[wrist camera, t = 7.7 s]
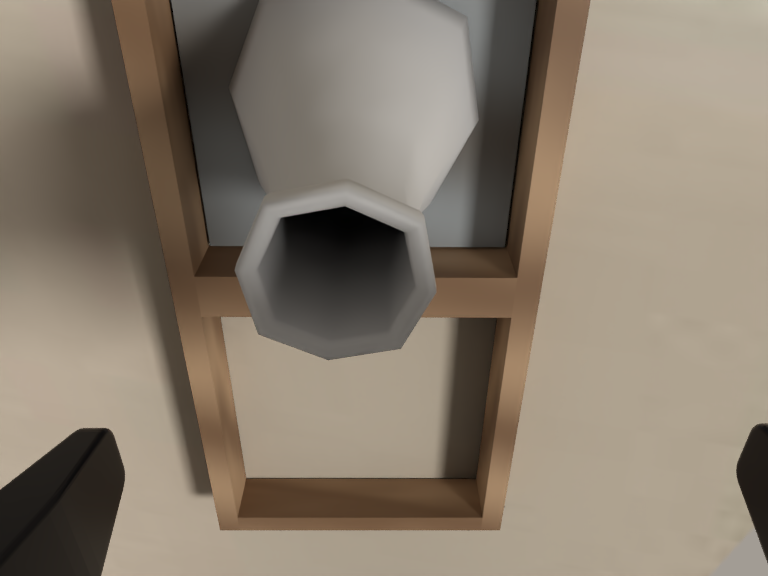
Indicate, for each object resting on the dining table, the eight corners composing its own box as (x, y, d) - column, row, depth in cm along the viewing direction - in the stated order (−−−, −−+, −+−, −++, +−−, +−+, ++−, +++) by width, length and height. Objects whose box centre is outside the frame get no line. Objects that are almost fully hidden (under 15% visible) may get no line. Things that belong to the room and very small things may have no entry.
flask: (230, 199, 20) (121, 427, 12) (231, -58, 16) (68, 1, 8) (454, 225, 20) (506, 461, 12) (506, -17, 17) (637, 80, 8)
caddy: (492, 491, 28) (499, 530, 26) (229, 491, 28) (220, 530, 26) (588, -141, 15) (615, -144, 14) (113, -146, 15) (80, -150, 14)
